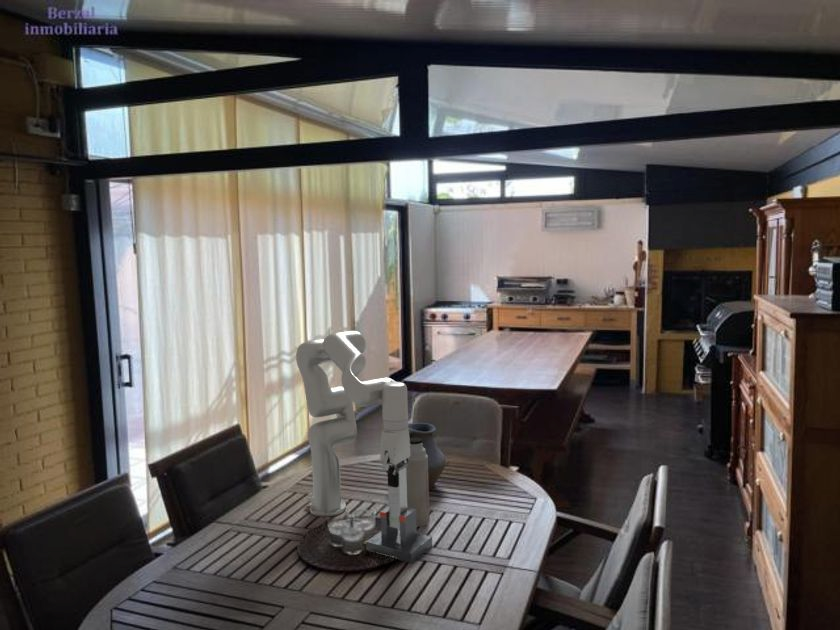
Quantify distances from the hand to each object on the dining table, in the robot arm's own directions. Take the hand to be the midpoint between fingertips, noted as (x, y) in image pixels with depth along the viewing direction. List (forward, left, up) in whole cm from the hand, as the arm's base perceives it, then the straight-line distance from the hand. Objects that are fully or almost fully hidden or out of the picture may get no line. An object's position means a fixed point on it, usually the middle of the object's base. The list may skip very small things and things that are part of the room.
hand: (397, 483), depth 188 cm
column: (0, 0, -13) cm, 13 cm away
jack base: (0, 0, -20) cm, 20 cm away
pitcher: (-20, +45, -21) cm, 53 cm away
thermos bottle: (-5, +19, -21) cm, 28 cm away
